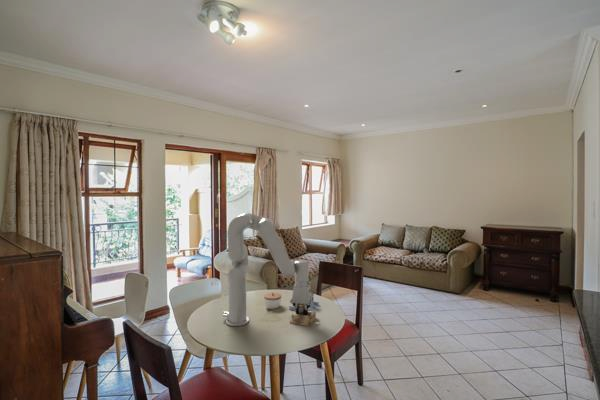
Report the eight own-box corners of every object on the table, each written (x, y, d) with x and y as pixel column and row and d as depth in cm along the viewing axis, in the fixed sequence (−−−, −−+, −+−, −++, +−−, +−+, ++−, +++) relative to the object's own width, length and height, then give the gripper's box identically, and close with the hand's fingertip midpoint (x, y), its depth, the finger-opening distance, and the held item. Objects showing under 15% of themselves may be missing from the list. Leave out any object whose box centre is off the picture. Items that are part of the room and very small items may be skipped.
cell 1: (299, 314, 167) (299, 300, 167) (306, 315, 166) (306, 301, 166) (297, 317, 164) (297, 303, 163) (303, 318, 162) (303, 303, 162)
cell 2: (306, 306, 183) (306, 293, 183) (308, 304, 186) (308, 291, 186) (312, 307, 182) (312, 294, 181) (314, 305, 185) (314, 292, 185)
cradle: (289, 323, 162) (289, 314, 162) (296, 316, 171) (296, 308, 171) (310, 326, 158) (310, 318, 158) (316, 319, 167) (316, 311, 167)
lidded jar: (283, 305, 188) (283, 290, 188) (279, 311, 177) (279, 296, 177) (266, 304, 190) (267, 289, 190) (261, 310, 179) (261, 295, 179)
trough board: (288, 311, 179) (288, 306, 179) (295, 303, 191) (295, 299, 191) (313, 314, 173) (313, 309, 173) (319, 306, 186) (319, 302, 186)
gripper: (318, 282, 165) (317, 315, 166) (290, 279, 171) (290, 311, 171) (314, 286, 158) (314, 320, 158) (285, 283, 164) (285, 316, 164)
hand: (301, 315), depth 165 cm, fingers closed on cell 1, 3 cm apart
